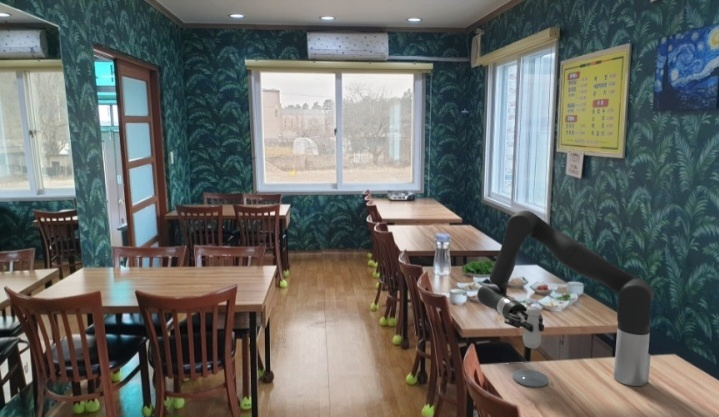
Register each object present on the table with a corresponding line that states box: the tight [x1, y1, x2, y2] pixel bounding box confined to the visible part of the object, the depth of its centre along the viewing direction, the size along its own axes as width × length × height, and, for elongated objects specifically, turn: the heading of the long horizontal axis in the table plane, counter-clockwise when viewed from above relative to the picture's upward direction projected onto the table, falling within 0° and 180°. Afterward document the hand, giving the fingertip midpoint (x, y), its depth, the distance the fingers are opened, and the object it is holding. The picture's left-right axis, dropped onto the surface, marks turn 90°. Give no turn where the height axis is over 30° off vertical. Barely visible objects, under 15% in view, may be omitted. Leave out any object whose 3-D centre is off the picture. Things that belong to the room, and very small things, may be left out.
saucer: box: [512, 368, 549, 388], centre depth 164 cm, size 11×11×1 cm
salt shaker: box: [522, 306, 542, 350], centre depth 162 cm, size 6×6×13 cm
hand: (537, 328), depth 159 cm, fingers closed on salt shaker, 3 cm apart
